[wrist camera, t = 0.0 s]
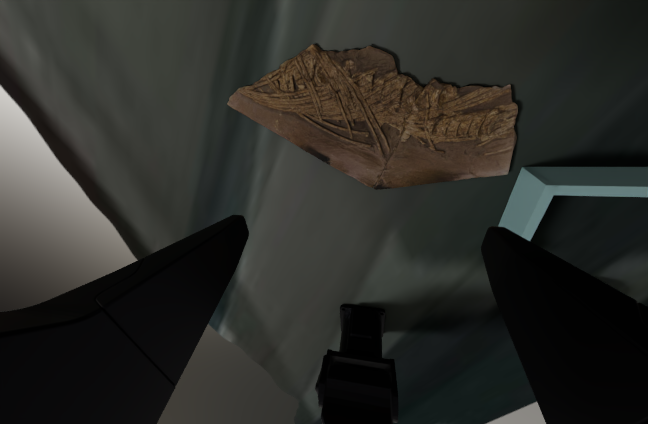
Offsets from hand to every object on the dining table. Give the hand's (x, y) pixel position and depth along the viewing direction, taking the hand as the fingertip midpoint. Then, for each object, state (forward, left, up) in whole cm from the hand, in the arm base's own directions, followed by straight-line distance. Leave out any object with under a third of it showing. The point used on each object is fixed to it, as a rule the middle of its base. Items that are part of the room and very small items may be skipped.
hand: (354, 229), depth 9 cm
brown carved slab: (0, 0, -15) cm, 15 cm away
